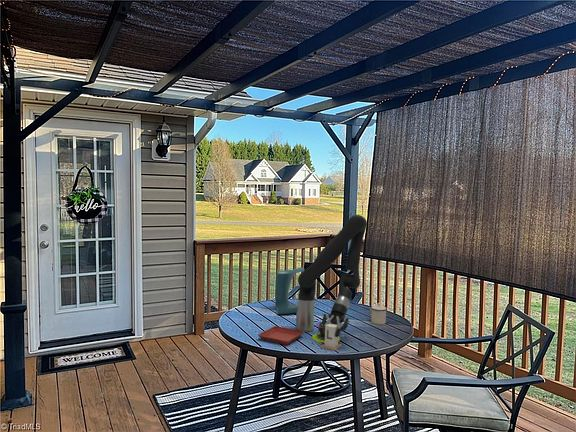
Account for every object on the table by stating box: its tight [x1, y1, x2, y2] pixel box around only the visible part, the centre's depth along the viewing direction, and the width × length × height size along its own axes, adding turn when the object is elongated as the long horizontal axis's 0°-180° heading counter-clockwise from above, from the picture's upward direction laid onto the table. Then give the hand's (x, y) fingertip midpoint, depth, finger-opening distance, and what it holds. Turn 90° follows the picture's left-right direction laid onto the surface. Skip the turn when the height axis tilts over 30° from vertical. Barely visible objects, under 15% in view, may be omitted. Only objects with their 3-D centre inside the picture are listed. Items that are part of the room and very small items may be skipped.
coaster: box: [320, 343, 343, 352], centre depth 208 cm, size 8×8×1 cm
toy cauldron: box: [311, 320, 341, 344], centre depth 221 cm, size 15×15×11 cm
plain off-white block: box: [325, 323, 339, 348], centre depth 207 cm, size 5×5×10 cm
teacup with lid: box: [369, 302, 387, 325], centre depth 253 cm, size 12×9×12 cm
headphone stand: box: [274, 267, 316, 315], centre depth 273 cm, size 26×28×28 cm
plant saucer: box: [257, 325, 304, 346], centre depth 218 cm, size 18×18×3 cm
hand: (330, 335), depth 206 cm, fingers open, 6 cm apart
